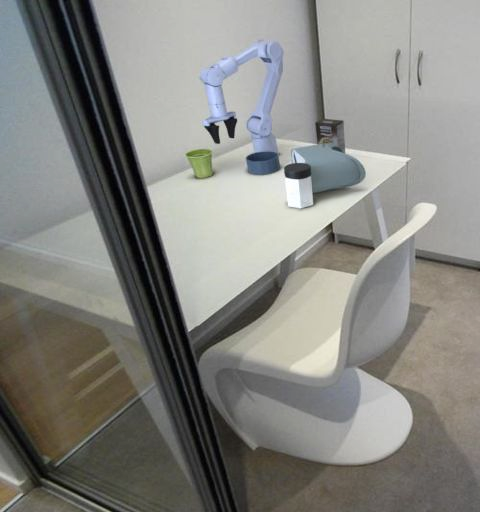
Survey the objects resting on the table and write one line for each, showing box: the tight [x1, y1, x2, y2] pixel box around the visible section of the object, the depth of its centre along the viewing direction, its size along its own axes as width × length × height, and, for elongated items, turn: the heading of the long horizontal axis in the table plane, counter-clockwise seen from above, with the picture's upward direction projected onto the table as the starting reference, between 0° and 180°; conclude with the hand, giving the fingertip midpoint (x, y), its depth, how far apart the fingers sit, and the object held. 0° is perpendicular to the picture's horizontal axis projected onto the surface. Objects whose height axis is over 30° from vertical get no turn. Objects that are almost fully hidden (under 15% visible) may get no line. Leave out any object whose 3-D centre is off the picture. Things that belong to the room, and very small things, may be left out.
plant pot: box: [184, 148, 214, 179], centre depth 160 cm, size 9×9×9 cm
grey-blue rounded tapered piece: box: [290, 143, 367, 194], centre depth 148 cm, size 22×19×13 cm
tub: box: [245, 151, 281, 176], centre depth 165 cm, size 12×12×5 cm
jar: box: [283, 162, 314, 209], centre depth 135 cm, size 9×8×12 cm
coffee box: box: [314, 118, 346, 154], centre depth 167 cm, size 9×6×16 cm
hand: (224, 140), depth 164 cm, fingers open, 7 cm apart
